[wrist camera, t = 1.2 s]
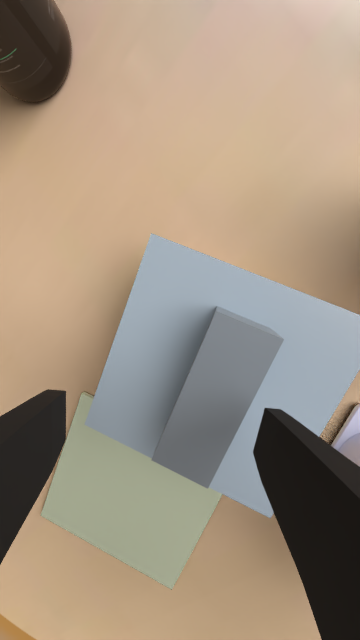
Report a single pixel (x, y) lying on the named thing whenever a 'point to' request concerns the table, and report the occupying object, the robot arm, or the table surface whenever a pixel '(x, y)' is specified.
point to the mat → (126, 502)
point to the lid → (219, 367)
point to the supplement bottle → (33, 48)
